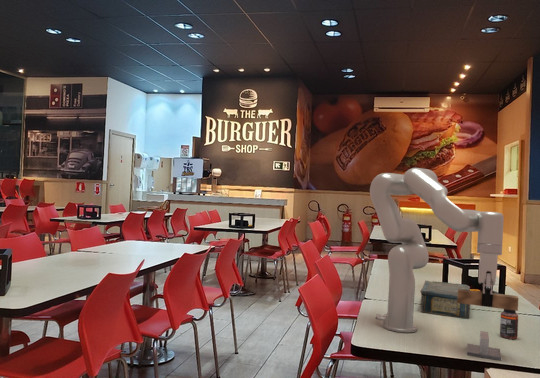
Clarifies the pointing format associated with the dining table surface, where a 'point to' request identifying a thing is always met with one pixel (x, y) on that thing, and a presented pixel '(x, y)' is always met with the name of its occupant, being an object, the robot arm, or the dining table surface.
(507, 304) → the beam
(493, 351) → the stand
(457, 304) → the metal box
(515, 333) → the supplement bottle
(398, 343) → the dining table surface
